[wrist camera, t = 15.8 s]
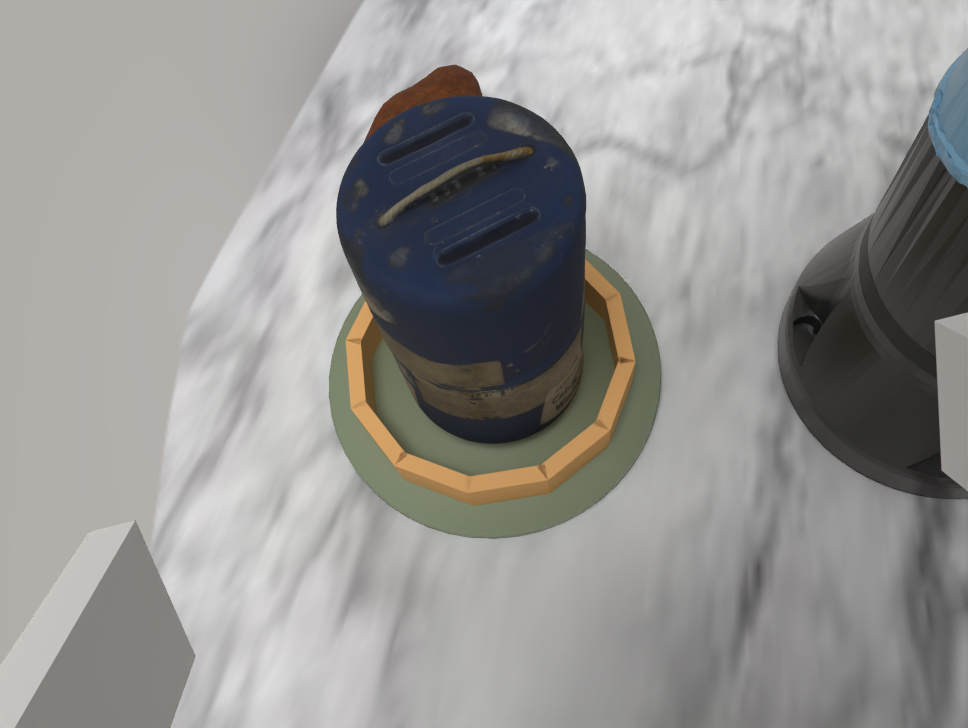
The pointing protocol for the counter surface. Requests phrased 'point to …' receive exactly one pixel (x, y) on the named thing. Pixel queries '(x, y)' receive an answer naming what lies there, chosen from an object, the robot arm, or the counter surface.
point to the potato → (428, 92)
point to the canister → (472, 261)
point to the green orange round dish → (505, 466)
